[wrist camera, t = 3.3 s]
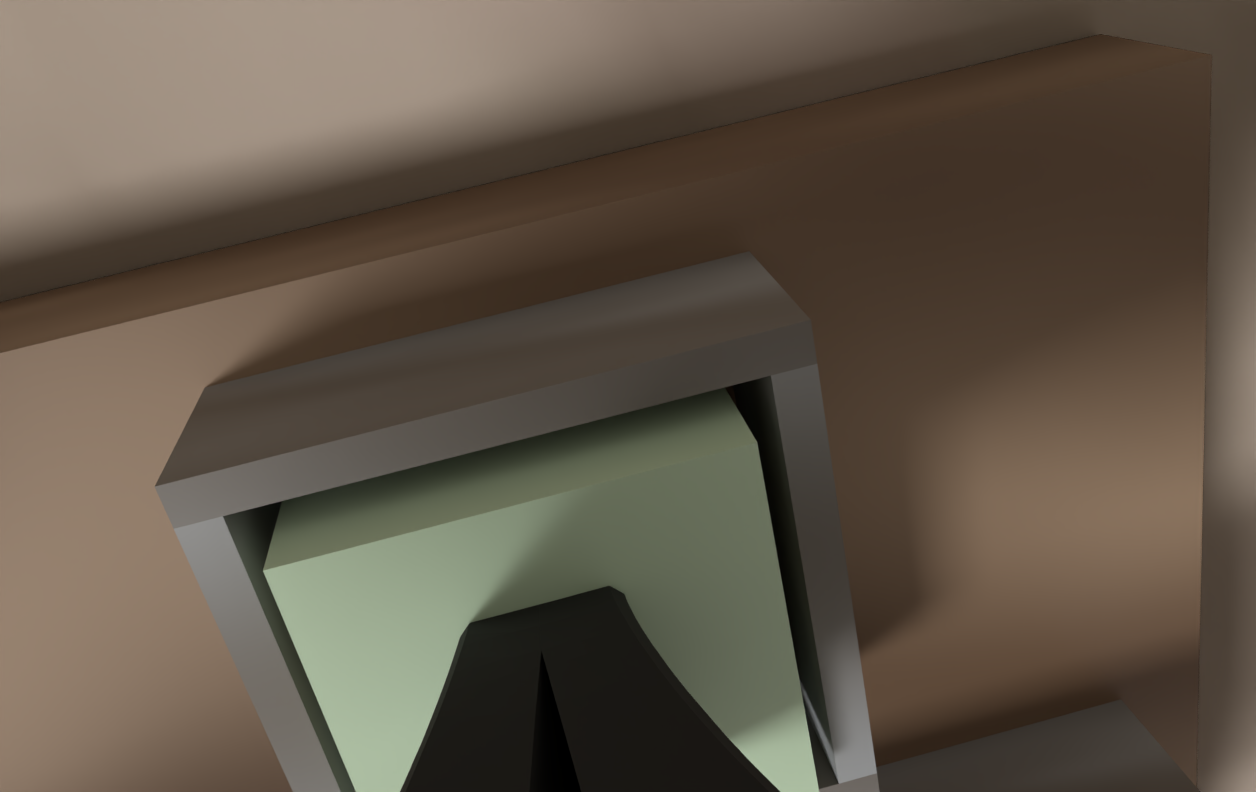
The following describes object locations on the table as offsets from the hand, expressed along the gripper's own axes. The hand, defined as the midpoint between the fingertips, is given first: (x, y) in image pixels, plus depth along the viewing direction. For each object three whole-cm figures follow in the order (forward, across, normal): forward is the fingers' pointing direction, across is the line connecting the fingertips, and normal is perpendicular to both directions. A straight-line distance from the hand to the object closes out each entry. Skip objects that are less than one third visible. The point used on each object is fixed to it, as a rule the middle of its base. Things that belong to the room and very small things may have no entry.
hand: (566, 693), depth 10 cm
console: (+4, 0, +4) cm, 6 cm away
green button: (+2, 0, 0) cm, 2 cm away
